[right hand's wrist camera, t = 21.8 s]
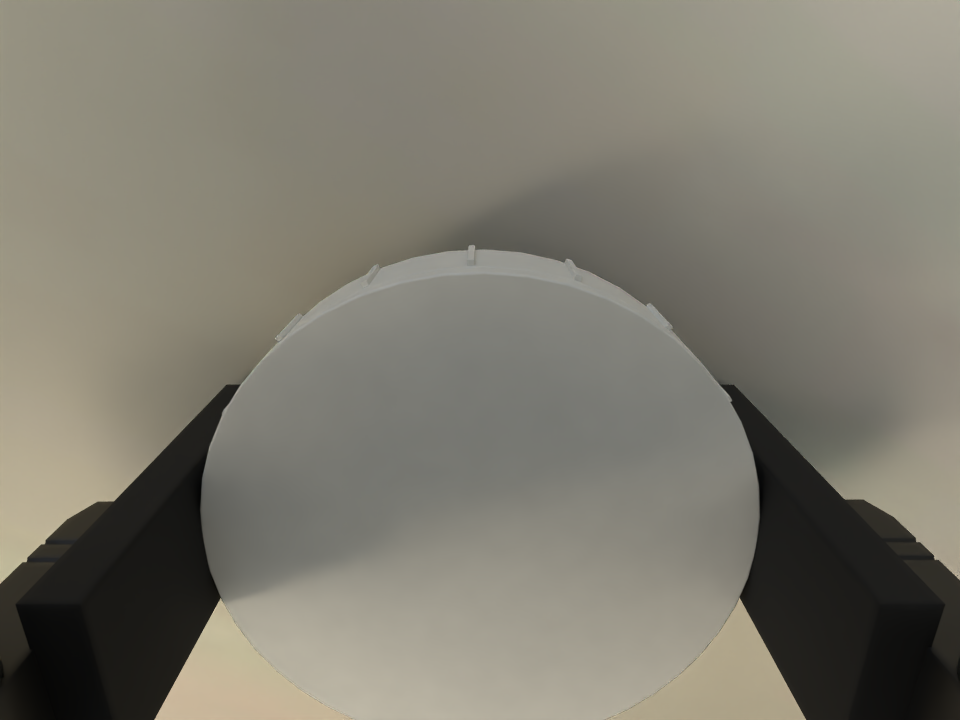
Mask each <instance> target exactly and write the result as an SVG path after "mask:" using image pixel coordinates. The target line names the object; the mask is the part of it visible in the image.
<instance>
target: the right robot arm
mask: <svg viewBox="0 0 960 720" xmlns="http://www.w3.org/2000/svg"><path fill="white" fill-rule="evenodd" d="M720 386H721V387H722V388H723V389H724V390H725V391H726V392H727V394H728V395H729V396H730V397H731V399H732V401H731V402H730V403H731V404H732V406H733V408H734V410H735V412H736V413H737V415H738V417H739V419H740V421H741V422H742V425H743V428H744V431H745V433H746V436H747V439H748V442H749V444H750V447H751V450H752V452H753V457H754V462H755V467H756V472H757V477H758V482H759V499H760V523H759V531H758V537H757V543H756V549H755V554H754V559H753V562H752V566H751V569H750V573H749V576H748V579H747V581H746V584H745V586H744V588H743V590H742V593H741V595H740V599H741V601H742V603H743V605H744V606H745V608H746V610H747V612H748V614H749V616H750V617H751V619H752V621H753V623H754V625H755V627H756V628H757V630H758V632H759V634H760V636H761V638H762V639H763V641H764V643H765V645H766V647H767V649H768V650H769V652H770V654H771V656H772V658H773V660H774V661H775V663H776V665H777V667H778V669H779V671H780V672H781V674H782V676H783V678H784V680H785V682H786V683H787V685H788V687H789V689H790V691H791V693H792V694H793V696H794V698H795V700H796V702H797V704H798V705H799V707H800V709H801V711H802V713H803V715H804V716H805V718H806V720H960V580H959V579H958V578H957V577H956V576H955V575H954V574H953V573H952V572H951V571H949V570H948V569H947V568H946V567H945V566H944V565H943V564H942V563H941V562H940V561H939V560H934V555H933V554H932V553H931V552H930V551H929V550H927V549H926V548H925V547H924V546H923V545H922V544H921V543H920V542H916V538H915V537H914V536H913V535H912V534H911V533H910V532H909V531H908V530H907V529H906V528H904V527H903V526H902V525H901V524H900V523H899V522H898V521H897V520H896V519H895V518H894V517H892V516H891V515H889V514H887V513H885V512H884V511H882V510H880V509H879V508H877V507H875V506H873V505H872V504H870V503H868V502H866V501H865V500H844V499H843V498H842V497H841V495H840V494H839V493H838V492H837V491H836V490H835V489H834V488H833V487H832V486H831V485H830V484H829V483H828V482H827V481H826V480H825V479H824V478H823V477H822V476H821V475H820V474H819V473H818V472H817V471H816V470H815V469H814V467H813V466H812V465H811V464H810V463H809V462H808V461H807V460H806V459H805V458H804V457H803V456H802V455H801V454H800V453H799V452H798V451H797V450H796V449H795V448H794V447H793V446H792V445H791V444H790V443H789V442H788V441H787V439H786V438H785V437H784V436H783V435H782V434H781V433H780V432H779V431H778V430H777V429H776V428H775V427H774V426H773V425H772V424H771V423H770V422H769V421H768V420H767V419H766V418H765V417H764V416H763V415H762V414H761V413H760V411H759V410H758V409H757V408H756V407H755V406H754V405H753V404H752V403H751V402H750V401H749V400H748V399H747V398H746V397H745V396H744V395H743V394H742V393H741V392H740V391H739V390H738V389H737V388H736V387H735V386H734V385H720ZM239 387H240V385H226V386H225V387H224V388H223V389H222V390H221V391H220V392H219V393H218V394H217V395H216V396H215V397H214V398H213V400H212V401H211V402H210V403H209V404H208V405H207V406H206V407H205V408H204V409H203V410H202V411H201V412H200V413H199V414H198V415H197V416H196V417H195V418H194V419H193V420H192V421H191V422H190V423H189V424H188V425H187V426H186V428H185V429H184V430H183V431H182V432H181V433H180V434H179V435H178V436H177V437H176V438H175V439H174V440H173V441H172V442H171V443H170V444H169V445H168V446H167V447H166V448H165V449H164V450H163V451H162V452H161V453H160V455H159V456H158V457H157V458H156V459H155V460H154V461H153V462H152V463H151V464H150V465H149V466H148V467H147V468H146V469H145V470H144V471H143V472H142V473H141V474H140V475H139V476H138V477H137V478H136V479H135V480H134V481H133V483H132V484H131V485H130V486H129V487H128V488H127V489H126V490H125V491H124V492H123V493H122V494H121V495H120V496H119V497H118V498H117V499H116V500H115V501H114V502H96V503H95V504H93V505H91V506H90V507H88V508H86V509H84V510H83V511H81V512H79V513H78V514H76V515H74V516H72V517H71V518H69V519H67V520H66V521H65V522H64V523H63V524H62V525H61V526H60V527H59V528H58V529H57V530H56V531H55V532H54V533H53V534H52V535H51V536H50V537H49V538H47V539H46V543H45V545H40V546H39V547H38V548H37V549H36V550H35V551H34V552H33V553H32V554H31V555H30V556H29V557H28V558H27V559H28V560H27V562H23V563H22V564H20V565H19V566H18V567H17V568H16V569H15V570H14V571H13V572H12V573H11V574H10V575H9V576H8V577H7V578H6V579H5V580H4V581H3V582H2V583H1V584H0V720H154V719H155V717H156V715H157V714H158V712H159V710H160V708H161V706H162V704H163V703H164V701H165V699H166V697H167V695H168V693H169V692H170V690H171V688H172V686H173V684H174V682H175V681H176V679H177V677H178V675H179V673H180V671H181V670H182V668H183V666H184V664H185V662H186V660H187V659H188V657H189V655H190V653H191V651H192V649H193V648H194V646H195V644H196V642H197V640H198V638H199V637H200V635H201V633H202V631H203V629H204V627H205V626H206V624H207V622H208V620H209V618H210V616H211V615H212V613H213V611H214V609H215V607H216V605H217V604H218V602H219V600H220V598H221V597H220V594H219V592H218V589H217V587H216V585H215V582H214V580H213V577H212V575H211V572H210V569H209V565H208V560H207V555H206V550H205V545H204V540H203V534H202V527H201V516H200V503H201V488H202V477H203V472H204V468H205V464H206V459H207V455H208V451H209V446H210V444H211V442H212V439H213V437H214V434H215V432H216V429H217V427H218V424H219V422H220V419H221V417H222V412H223V410H224V409H225V408H226V407H227V405H228V404H229V403H230V401H231V400H232V398H233V396H234V395H235V393H236V391H237V390H238V388H239Z"/></svg>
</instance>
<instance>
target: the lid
mask: <svg viewBox="0 0 960 720" xmlns="http://www.w3.org/2000/svg"><path fill="white" fill-rule="evenodd" d="M672 328H673V326H672V325H671V324H670V323H669V322H668V321H667V320H666V319H665V318H664V317H663V316H662V315H661V314H660V312H659V311H658V310H657V309H656V308H655V307H654V306H653V305H652V304H650V303H649V304H648V305H647V306H645V305H644V304H642V303H641V302H639V301H638V300H637V299H635V298H634V297H632V296H631V295H630V294H628V293H627V292H625V291H624V290H623V289H621V288H620V287H618V286H616V285H614V284H612V283H610V282H608V281H606V280H604V279H602V278H600V277H598V276H596V275H595V274H593V273H591V272H589V271H586V270H583V269H580V268H577V267H576V266H575V264H574V263H573V261H572V260H570V259H566V260H565V263H563V262H561V261H558V260H555V259H550V258H545V257H540V256H536V255H531V254H526V253H522V252H511V251H499V250H486V249H481V250H475V245H469V246H468V250H461V251H446V252H440V253H435V254H430V255H424V256H419V257H413V258H410V259H407V260H404V261H400V262H397V263H394V264H391V265H388V266H385V267H382V268H380V266H379V264H377V265H374V266H373V267H372V268H371V269H370V271H369V272H368V274H366V275H364V276H362V277H360V278H358V279H356V280H354V281H352V282H350V283H348V284H346V285H344V286H343V287H341V288H340V289H338V290H337V291H335V292H334V293H332V294H331V295H329V296H328V297H326V298H325V299H323V300H322V301H320V302H319V303H318V304H316V305H315V306H314V307H313V308H312V309H311V310H310V311H309V312H307V313H306V314H305V315H304V316H302V315H301V314H300V313H298V314H297V315H296V316H295V317H294V318H293V319H292V320H291V322H290V323H289V324H288V325H287V326H286V327H285V328H284V329H283V330H282V331H281V332H280V333H279V334H278V335H277V336H276V337H275V339H276V340H277V341H278V342H277V343H276V344H275V346H274V347H273V348H272V349H271V350H270V351H269V352H268V353H267V354H266V355H265V356H264V357H263V359H262V360H261V361H260V362H259V363H258V365H257V366H256V367H255V368H254V369H253V371H252V372H251V373H250V374H249V375H248V377H247V378H246V379H245V380H244V381H243V383H242V384H241V385H240V387H239V388H238V390H237V391H236V393H235V395H234V396H233V398H232V400H231V401H230V403H229V404H228V405H227V407H226V408H225V409H224V410H223V412H222V417H221V419H220V422H219V424H218V427H217V429H216V432H215V434H214V437H213V439H212V442H211V444H210V446H209V451H208V455H207V459H206V464H205V468H204V472H203V477H202V488H201V503H200V516H201V527H202V534H203V540H204V545H205V550H206V555H207V560H208V565H209V569H210V572H211V575H212V577H213V580H214V582H215V585H216V587H217V589H218V592H219V594H220V597H221V599H222V601H223V603H224V604H225V606H226V608H227V610H228V611H229V613H230V615H231V616H232V618H233V620H234V622H235V623H236V625H237V627H238V628H239V629H240V630H241V632H242V633H243V634H244V636H245V637H246V638H247V639H248V641H249V642H250V643H251V645H252V646H253V647H254V648H255V650H256V651H257V652H258V653H259V654H260V655H261V656H262V657H263V658H264V659H265V660H266V661H267V662H268V663H269V664H270V665H271V666H272V667H273V668H274V669H275V670H276V671H277V672H279V673H280V674H281V675H282V676H284V677H285V678H286V679H287V680H289V681H290V682H291V683H292V684H294V685H295V686H296V687H297V688H299V689H300V690H301V691H303V692H305V693H306V694H308V695H309V696H311V697H313V698H314V699H316V700H317V701H319V702H321V703H322V704H324V705H325V706H327V707H329V708H331V709H333V710H335V711H337V712H339V713H341V714H343V715H346V716H348V717H350V718H352V719H354V720H606V719H608V718H611V717H613V716H615V715H617V714H619V713H622V712H624V711H626V710H628V709H630V708H631V707H633V706H635V705H636V704H638V703H640V702H641V701H643V700H645V699H647V698H648V697H650V696H652V695H653V694H655V693H656V692H657V691H659V690H660V689H661V688H663V687H664V686H665V685H667V684H668V683H669V682H671V681H672V680H673V679H675V678H676V677H677V676H679V675H680V674H681V673H682V672H683V671H684V670H685V669H686V668H687V667H688V666H689V665H690V664H691V663H692V662H693V661H694V660H695V659H697V658H698V657H699V656H700V655H701V654H702V652H703V651H704V650H705V649H706V647H707V646H708V645H709V644H710V643H711V641H712V640H713V639H714V638H715V636H716V635H717V634H718V633H719V632H720V630H721V628H722V627H723V625H724V624H725V622H726V620H727V619H728V617H729V616H730V614H731V612H732V611H733V609H734V608H735V606H736V604H737V602H738V599H739V597H740V595H741V593H742V590H743V588H744V586H745V584H746V581H747V579H748V576H749V573H750V569H751V566H752V562H753V559H754V554H755V549H756V543H757V537H758V531H759V523H760V499H759V482H758V477H757V472H756V467H755V462H754V457H753V452H752V450H751V447H750V444H749V442H748V439H747V436H746V433H745V431H744V428H743V425H742V422H741V421H740V419H739V417H738V415H737V413H736V412H735V410H734V408H733V406H732V404H731V403H730V402H731V401H732V399H731V397H730V396H729V395H728V394H727V392H726V391H725V390H724V389H723V388H722V387H721V386H720V385H719V384H718V383H717V381H716V380H715V379H714V378H713V377H712V375H711V374H710V373H709V371H708V370H707V369H706V368H705V366H704V365H703V364H702V363H701V361H700V360H699V359H698V358H697V357H696V356H695V355H694V354H693V353H692V352H691V351H690V350H689V348H688V347H687V346H686V345H685V344H684V343H683V342H682V341H681V340H680V339H679V338H678V337H677V335H676V334H675V333H674V332H673V331H672V330H671V329H672Z"/></svg>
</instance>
